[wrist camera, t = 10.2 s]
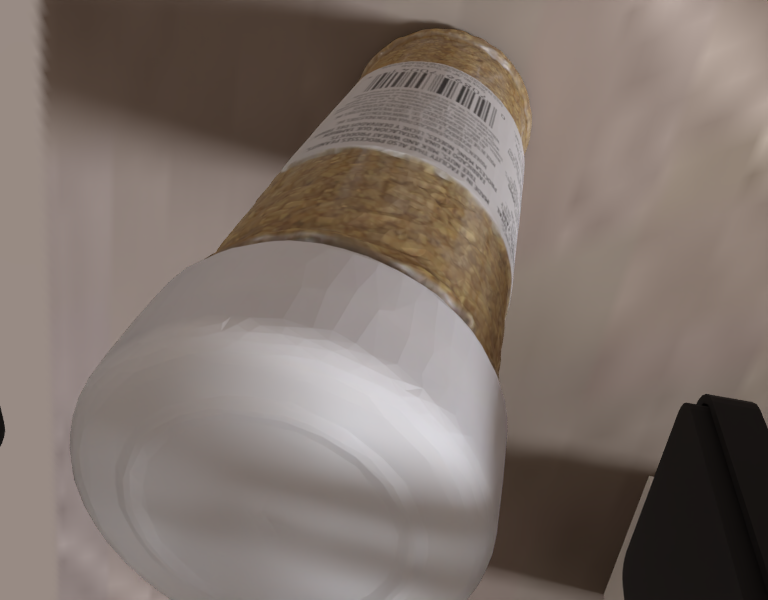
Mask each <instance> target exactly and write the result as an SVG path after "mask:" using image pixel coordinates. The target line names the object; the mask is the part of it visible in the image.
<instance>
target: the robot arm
mask: <svg viewBox="0 0 768 600" xmlns="http://www.w3.org/2000/svg"><path fill="white" fill-rule="evenodd" d="M4 433H5V426H4V421H3V416H2V412H1V408H0V446H1V444H2V441H3V438H4ZM622 583H623V593H624V600H768V428H767V425H766V423H765V421H764V418H763V416H762V413H761V411H760V409H759V407H758V406H757V404H755V403H753V402H748V401H743V400H737V399H732V398H726V397H720V396H715V395H709V394H705V395H702V396H701V398H700V399H699V400H698V402H697V404H691V403H684V404H683V405H682V406H681V408H680V410H679V412H678V415H677V417H676V420H675V423H674V425H673V428H672V431H671V433H670V436H669V439H668V441H667V444H666V447H665V449H664V452H663V455H662V458H661V460H660V463H659V466H658V468H657V471H656V474H655V476H654V479H653V482H652V484H651V487H650V490H649V492H648V495H647V498H646V500H645V503H644V506H643V508H642V511H641V514H640V516H639V519H638V522H637V524H636V527H635V530H634V532H633V535H632V538H631V540H630V543H629V546H628V548H627V551H626V554H625V558H624V563H623V571H622Z"/></svg>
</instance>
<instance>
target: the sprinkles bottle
mask: <svg viewBox="0 0 768 600" xmlns="http://www.w3.org/2000/svg"><path fill="white" fill-rule="evenodd" d="M531 124H532V114H531V109H530V104H529V98H528V93H527V90H526V87H525V85H524V83H523V81H522V78H521V76H520V75H519V73H518V72H517V71H516V69H515V67H514V66H513V64H512V63H511V62H510V60H509V59H508V58H507V57H506V56H505V55H504V54H503V53H502V52H501V51H500V50H499V49H497V48H496V47H494V46H492V45H490V44H489V43H488V42H486V41H485V40H483V39H481V38H479V37H475V36H471V35H469V34H468V33H467V32H464V31H460V30H455V29H438V28H434V29H424V30H420V31H418V32H415V33H412V34H409V35H407V36H405V37H400V38H397V39H396V40H394V41H393V42H391V43H390V44H389V45H388V46H386V47H385V48H383V49H382V50H381V51H379V52H378V53H377V54H376V55H375V56H374V57H373V58H372V59H371V61H370V62H369V63H368V64H367V66H366V67H365V69H364V71H363V73H362V76H361V78H360V79H359V81H358V83H357V84H356V85H355V86H354V87H353V88H352V89H351V91H350V92H349V93H348V94H347V95H346V96H345V97H344V98H343V100H342V101H341V102H340V103H339V104H338V105H337V106H336V107H335V108H334V110H333V111H332V112H331V113H330V114H329V115H328V116H327V118H326V119H325V120H324V121H323V122H322V123H321V124H320V125H319V126H318V127H317V128H316V130H315V131H314V132H313V133H312V135H311V136H310V137H309V138H308V139H307V140H306V142H305V143H304V144H303V145H302V146H301V147H300V148H299V149H298V151H297V152H296V153H295V154H294V155H293V156H292V157H291V158H290V160H289V161H288V162H287V164H286V165H285V166H284V167H283V169H282V170H281V172H280V173H279V174H278V175H277V176H276V177H275V179H274V180H273V181H272V182H271V184H270V185H269V187H268V188H267V189H266V190H265V191H264V192H263V194H262V195H261V196H260V197H259V198H258V199H257V201H256V203H255V204H254V206H253V207H252V208H251V209H250V211H249V212H248V213H247V214H246V215H245V216H244V217H243V218H242V220H241V221H240V222H239V223H238V224H237V226H236V227H235V228H234V229H233V231H232V232H231V233H230V234H229V236H228V237H227V238H226V239H225V240H224V241H223V243H222V244H221V245H220V247H219V248H218V250H217V252H216V253H214V254H212V255H210V256H209V257H207V258H205V259H204V260H202V261H200V262H198V263H195V264H193V265H191V266H189V267H187V268H186V269H184V270H183V271H182V272H181V273H179V274H178V275H177V276H176V277H174V278H173V279H172V280H171V281H170V282H169V283H168V284H167V285H166V286H165V287H164V288H163V289H162V290H161V291H160V292H159V293H158V294H157V295H156V296H155V298H154V299H153V300H152V301H151V302H150V303H149V304H148V306H147V307H146V308H145V309H144V310H143V311H142V312H141V313H140V315H139V316H138V317H137V318H136V319H135V320H134V321H133V323H132V324H131V325H130V326H129V327H128V329H127V330H126V331H125V332H124V333H123V335H122V336H121V337H120V338H119V340H118V341H117V342H116V343H115V344H114V346H113V347H112V348H111V349H110V350H109V352H108V353H107V354H106V356H105V357H104V358H103V360H102V361H101V362H100V364H99V365H98V366H97V368H96V369H95V370H94V372H93V373H92V375H91V376H90V377H89V379H88V381H87V383H86V385H85V387H84V388H83V390H82V392H81V394H80V396H79V398H78V402H77V405H76V408H75V411H74V414H73V419H72V426H71V434H70V454H71V462H72V469H73V475H74V480H75V483H76V485H77V488H78V491H79V493H80V496H81V499H82V501H83V503H84V506H85V508H86V509H87V511H88V513H89V515H90V516H91V518H92V520H93V522H94V524H95V525H96V527H97V528H98V530H99V531H100V532H101V534H102V535H103V537H104V538H105V540H106V541H107V542H108V544H109V545H110V546H111V547H112V548H113V549H114V550H115V551H116V553H117V554H118V555H119V556H120V557H121V558H122V559H123V560H124V562H125V563H126V564H128V565H129V566H130V567H131V568H132V569H133V570H134V571H135V572H136V573H137V574H138V575H140V576H141V577H142V578H143V579H144V580H145V581H146V582H148V583H149V584H150V585H152V586H153V587H154V588H155V589H157V590H158V591H159V592H161V593H162V594H164V595H165V596H167V597H168V598H170V599H171V600H467V599H468V598H469V596H470V595H471V594H472V593H473V592H474V590H475V589H476V587H477V586H478V584H479V583H480V581H481V579H482V577H483V575H484V573H485V571H486V569H487V566H488V564H489V561H490V559H491V557H492V554H493V549H494V545H495V540H496V536H497V529H498V520H499V512H500V503H501V495H502V486H503V478H504V466H505V455H506V443H507V432H508V425H507V412H506V405H505V399H504V396H503V393H502V389H501V386H500V383H499V369H500V362H501V348H502V343H503V337H504V323H505V319H506V315H507V312H508V309H509V304H510V299H511V293H512V284H513V274H514V264H515V254H516V245H517V236H518V228H519V219H520V210H521V200H522V189H523V179H524V164H525V162H524V154H525V152H526V149H527V146H528V143H529V139H530V131H531Z"/></svg>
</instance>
